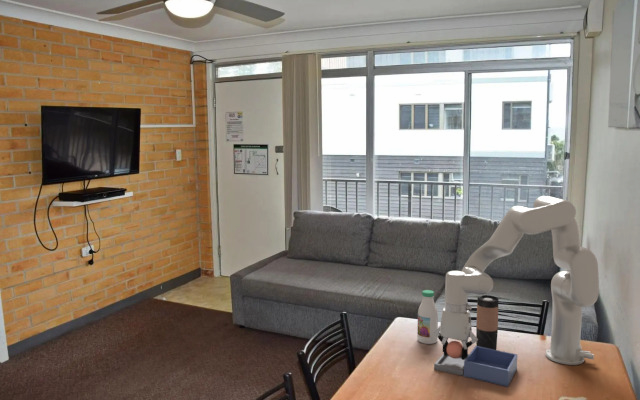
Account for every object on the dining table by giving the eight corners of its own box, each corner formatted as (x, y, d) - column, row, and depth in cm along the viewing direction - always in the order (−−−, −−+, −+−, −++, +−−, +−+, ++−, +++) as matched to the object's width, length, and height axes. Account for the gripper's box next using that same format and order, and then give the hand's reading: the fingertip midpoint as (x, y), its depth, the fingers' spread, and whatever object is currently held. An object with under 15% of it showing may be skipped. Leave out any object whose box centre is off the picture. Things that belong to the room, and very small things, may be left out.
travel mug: (498, 354, 189) (500, 302, 187) (476, 353, 191) (478, 300, 188) (495, 346, 197) (497, 295, 194) (474, 344, 198) (476, 294, 196)
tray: (474, 360, 185) (474, 355, 185) (462, 376, 173) (463, 370, 173) (446, 354, 190) (447, 349, 190) (434, 369, 178) (434, 363, 178)
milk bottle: (430, 335, 208) (431, 287, 205) (441, 343, 200) (442, 293, 198) (413, 338, 205) (414, 289, 203) (423, 345, 198) (424, 295, 195)
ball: (466, 356, 182) (466, 340, 181) (461, 363, 177) (461, 346, 176) (449, 352, 185) (449, 336, 184) (443, 359, 180) (444, 343, 179)
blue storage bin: (516, 369, 177) (517, 354, 177) (507, 387, 165) (508, 370, 165) (475, 360, 185) (475, 345, 184) (463, 376, 173) (464, 360, 172)
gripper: (484, 307, 177) (482, 357, 180) (435, 299, 186) (434, 347, 189) (478, 314, 171) (476, 366, 173) (428, 305, 180) (427, 355, 182)
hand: (454, 355), depth 181 cm, fingers closed on ball, 5 cm apart
